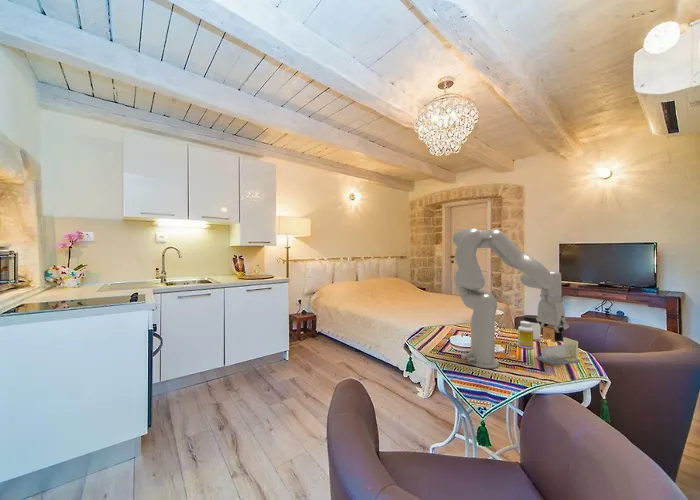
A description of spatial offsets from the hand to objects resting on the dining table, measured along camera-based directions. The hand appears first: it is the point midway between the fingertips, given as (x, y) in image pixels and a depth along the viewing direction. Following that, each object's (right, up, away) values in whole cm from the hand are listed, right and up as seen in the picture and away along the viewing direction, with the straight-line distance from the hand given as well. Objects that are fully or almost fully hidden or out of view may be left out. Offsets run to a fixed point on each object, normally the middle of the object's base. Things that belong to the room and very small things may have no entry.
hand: (551, 338), depth 127 cm
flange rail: (+3, -10, +1) cm, 11 cm away
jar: (+13, -10, +35) cm, 38 cm away
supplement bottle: (0, -10, +19) cm, 21 cm away
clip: (0, -1, 0) cm, 1 cm away
